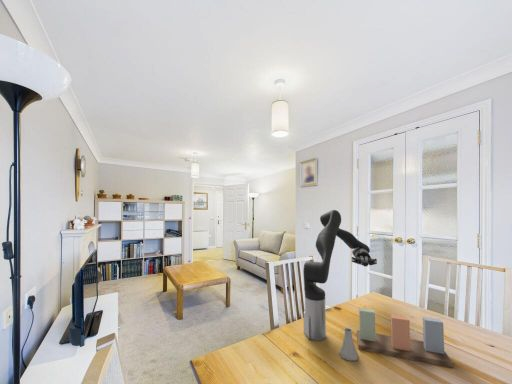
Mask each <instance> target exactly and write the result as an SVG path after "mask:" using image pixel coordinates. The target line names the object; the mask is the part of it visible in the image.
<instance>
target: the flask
mask: <svg viewBox="0 0 512 384" xmlns="http://www.w3.org/2000/svg"><path fill="white" fill-rule="evenodd" d="M343 331H344V338H343V340H342V344H341V347H340V349H339V352H338V353H339V355H340V357H341V358H343V359H344V360H347V361H351V362H352V361H357V360H358V358H359V354H358V352H357V349H356V346H355V343H354V340H353V329H352V328H349V327H344V328H343Z"/></svg>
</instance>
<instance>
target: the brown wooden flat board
mask: <svg viewBox="0 0 512 384" xmlns="http://www.w3.org/2000/svg"><path fill="white" fill-rule="evenodd" d="M375 335H376V342H374V341H369V340H363V339H360V329H359V330H358V329H356V339H357V347H358V350H360V351H366V352H370V353H376V354H381V355H385V356H391V357H397V358H401V359H407V360H411V361H415V362H417V361H418V362H421V363H426V364H427V363H428V364H431V365H437V366H442V367H446V368H452V369H453V367H454V365H453V364H454V363H453V361H452V360H451V358H450V357H449V355H448V353H447V352H446V351H445V350H444V354H440V353H435V352H429V351H426V350H425V348H424V342H423V341H422V340H418V339H411V338H410V351H406V350H400V349H395V348H393V347H392V343H391V335H387V334H382V333H381V334H380V333H377V332H375Z"/></svg>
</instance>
